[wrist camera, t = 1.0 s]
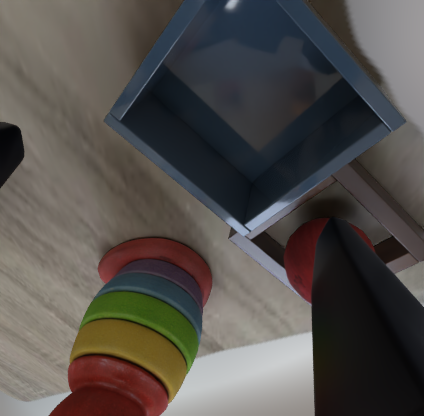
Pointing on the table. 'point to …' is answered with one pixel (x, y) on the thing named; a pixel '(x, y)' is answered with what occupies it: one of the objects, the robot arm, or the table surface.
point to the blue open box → (251, 105)
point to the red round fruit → (307, 255)
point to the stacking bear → (138, 331)
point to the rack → (371, 199)
